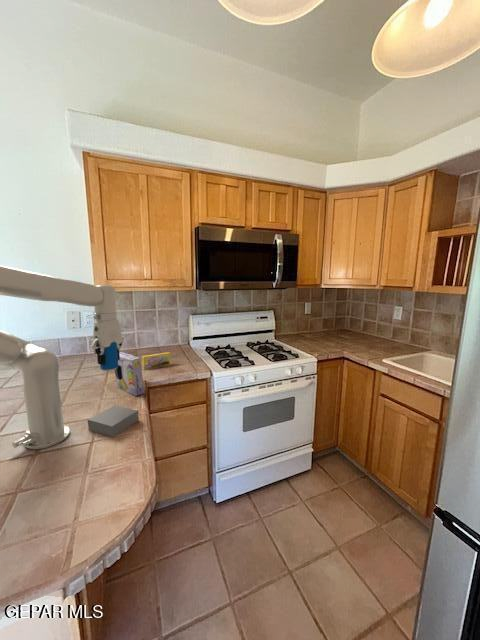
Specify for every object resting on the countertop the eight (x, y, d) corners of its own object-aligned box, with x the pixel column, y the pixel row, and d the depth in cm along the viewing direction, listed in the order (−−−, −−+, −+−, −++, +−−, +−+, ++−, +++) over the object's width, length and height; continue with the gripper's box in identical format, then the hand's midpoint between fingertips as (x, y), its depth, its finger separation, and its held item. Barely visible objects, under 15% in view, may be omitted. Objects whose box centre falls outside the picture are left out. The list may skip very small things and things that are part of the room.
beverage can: (113, 365, 113) (111, 337, 111) (121, 368, 109) (119, 339, 107) (97, 369, 108) (95, 340, 106) (105, 372, 104) (103, 342, 102)
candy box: (143, 370, 161) (142, 356, 159) (142, 369, 162) (142, 356, 161) (170, 365, 169) (169, 352, 168) (169, 364, 171) (168, 351, 170)
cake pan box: (115, 386, 136) (112, 352, 133) (124, 383, 140) (122, 350, 137) (134, 397, 124) (132, 360, 121) (144, 393, 128) (142, 357, 125)
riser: (112, 437, 93) (111, 426, 92) (88, 429, 97) (87, 419, 97) (138, 420, 104) (137, 410, 103) (115, 414, 108) (114, 405, 108)
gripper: (94, 320, 96) (97, 369, 98) (130, 315, 112) (132, 357, 114) (78, 319, 99) (82, 367, 101) (116, 314, 115) (118, 355, 117)
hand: (109, 361), depth 108 cm, fingers closed on beverage can, 6 cm apart
